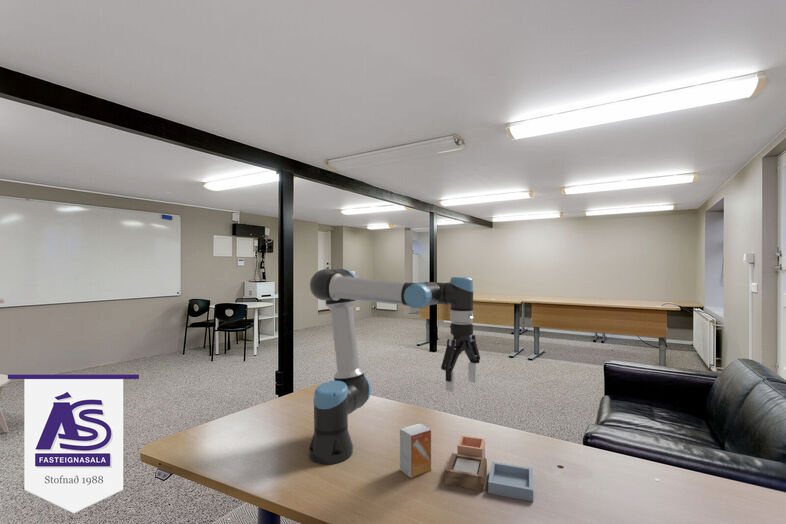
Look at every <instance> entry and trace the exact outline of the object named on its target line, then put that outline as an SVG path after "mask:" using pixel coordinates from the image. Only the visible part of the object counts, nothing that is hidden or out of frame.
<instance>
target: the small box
mask: <svg viewBox="0 0 786 524" xmlns="http://www.w3.org/2000/svg"><path fill="white" fill-rule="evenodd" d="M399 437H400V438H399V470H400V471H402V472H403V473H404V474H405V475H406V476H408V477H409V478H410V479H411V478H415V477H417V476H419V475H423V474H425V473H427V472H431V471H432V429H430V428H428V427H427V426H425V425H424V424H422V423H417V424H413V425H412V424H411V425H409V426H406V427H402V428H400V429H399Z"/></svg>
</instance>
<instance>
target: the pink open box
mask: <svg viewBox="0 0 786 524" xmlns="http://www.w3.org/2000/svg"><path fill="white" fill-rule="evenodd" d="M459 438H460V439H458V443H457V445H456V446H457V448H456V449H457V454H461V455H467V456H473V457H479V458H486V438H482V437H478V436H477V437H476V436H469V435H468V436H467V435H463V434H462V435H460V437H459Z"/></svg>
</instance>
